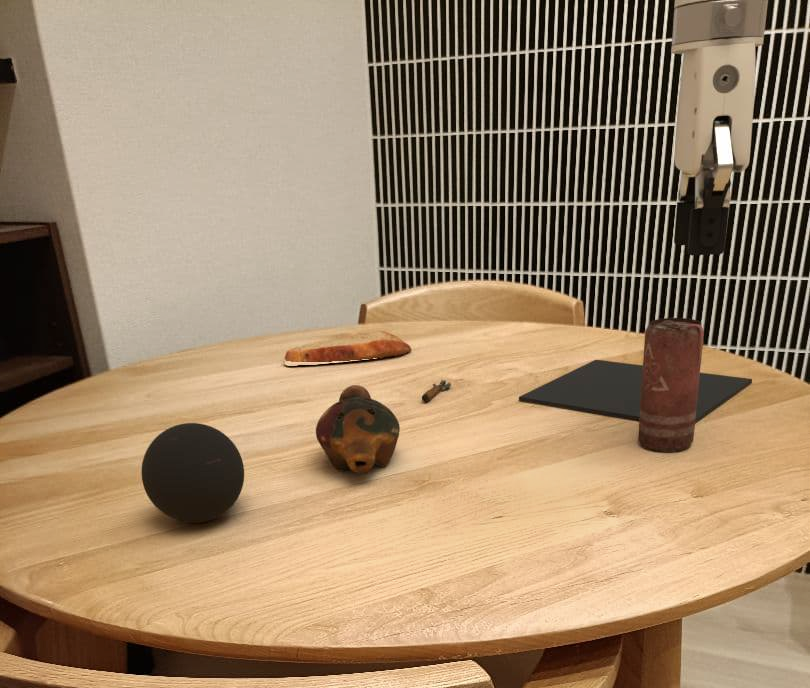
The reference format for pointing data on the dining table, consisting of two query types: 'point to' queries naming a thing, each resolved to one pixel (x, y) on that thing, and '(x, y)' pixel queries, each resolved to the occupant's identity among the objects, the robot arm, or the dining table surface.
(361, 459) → the decorative turtle
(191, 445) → the speaker
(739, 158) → the robot arm
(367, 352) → the bread slice
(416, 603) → the dining table surface
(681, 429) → the can
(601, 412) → the mat
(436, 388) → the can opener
